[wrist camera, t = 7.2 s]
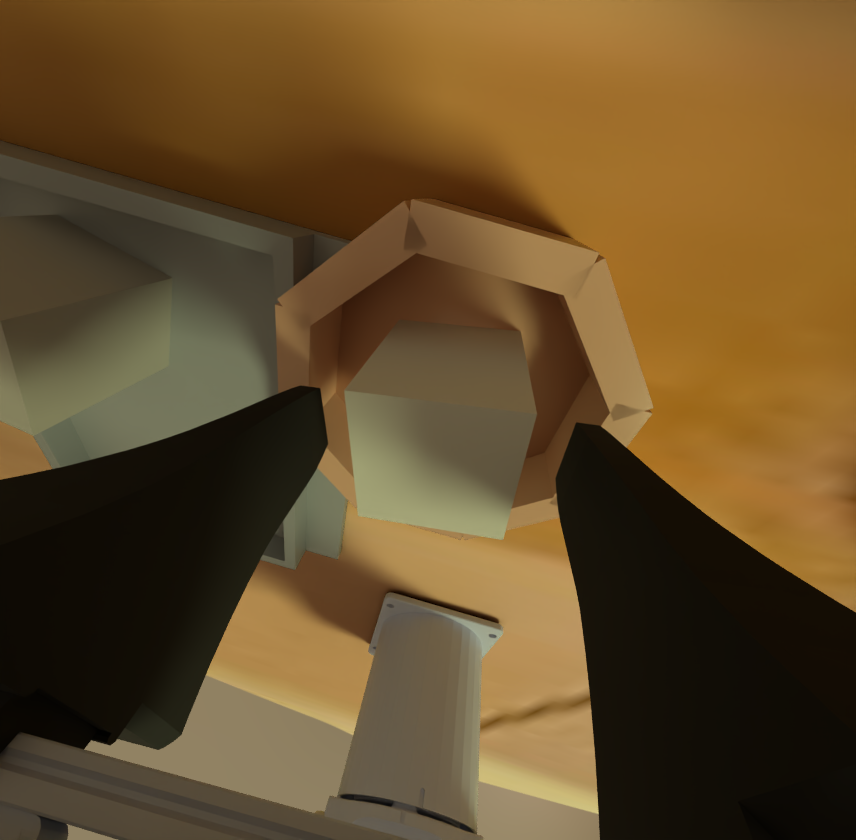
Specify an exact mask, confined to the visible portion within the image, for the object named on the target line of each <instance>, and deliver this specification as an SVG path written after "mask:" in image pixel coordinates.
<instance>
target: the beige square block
mask: <svg viewBox="0 0 856 840" xmlns="http://www.w3.org/2000/svg"><path fill="white" fill-rule="evenodd" d="M171 300H172V277H170V276H168V275H166V274H164V273H162V272H161V271H159V270H157V269H155V268H153V267H151V266H150V265H148V264H146V263H144V262H142V261H140V260H139V259H137V258H135V257H133V256H131V255H129V254H128V253H126V252H124V251H122V250H120V249H118V248H117V247H115V246H113V245H111V244H109V243H107V242H106V241H104V240H102V239H100V238H98V237H96V236H95V235H93V234H91V233H89V232H87V231H85V230H84V229H82V228H80V227H78V226H76V225H74V224H73V223H71V222H69V221H67V220H65V219H63V218H62V217H60V216H58V215H32V216H6V217H0V421H2V422H4V423H6V424H8V425H10V426H13V427H15V428H17V429H19V430H22V431H24V432H26V433H28V434H31V435H33V436H34V435H36V434H38V433H40V432H42V431H44V430H46V429H48V428H50V427H52V426H54V425H56V424H58V423H59V422H61V421H63V420H65V419H67V418H69V417H71V416H73V415H75V414H77V413H79V412H81V411H83V410H85V409H87V408H88V407H90V406H92V405H94V404H96V403H98V402H100V401H102V400H104V399H106V398H108V397H110V396H112V395H114V394H116V393H117V392H119V391H121V390H123V389H125V388H127V387H129V386H131V385H133V384H135V383H137V382H139V381H141V380H143V379H145V378H146V377H148V376H150V375H152V374H154V373H156V372H158V371H160V370H162V369H164V368H166V367H168V366H169V346H170V323H171Z"/></svg>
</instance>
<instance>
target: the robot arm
mask: <svg viewBox="0 0 856 840" xmlns="http://www.w3.org/2000/svg"><path fill="white" fill-rule="evenodd" d="M327 446H328V438H327V431H326V424H325V417H324V410H323V403H322V396H321V389H320V388H316V387H309V386H301V385H300V386H297V387H294V388H291V389H288V390H286V391H283V392H281V393H278V394H276V395H273V396H271V397H269V398H266V399H264V400H262V401H259V402H257V403H255V404H252V405H250V406H248V407H245V408H243V409H241V410H238V411H236V412H234V413H231V414H229V415H226V416H224V417H221V418H219V419H216V420H214V421H211V422H208V423H206V424H203V425H201V426H198V427H196V428H193V429H191V430H188V431H185V432H182V433H180V434H177V435H174V436H171V437H168V438H165V439H162V440H159V441H156V442H152V443H149V444H146V445H143V446H140V447H136V448H133V449H130V450H126V451H122V452H118V453H115V454H111V455H107V456H103V457H99V458H95V459H92V460H88V461H84V462H80V463H76V464H72V465H68V466H64V467H60V468H55V469H51V470H46V471H41V472H37V473H32V474H28V475H23V476H18V477H13V478H8V479H3V480H0V840H67V837H68V826H67V824H69V825H72V826H75V827H79V828H82V829H85V830H88V831H92V832H95V833H98V834H101V835H105V836H108V837H112V838H115V839H118V840H483V837H482V836H481V835H477V810H478V777H479V741H480V705H481V670H482V658H483V657H484V656H485V655H486V653H487V652H488V651H489V650H490V649H491V647H492V646H493V645H494V644H495V643H496V641H497V640H498V639H499V638H500V637H501V636H502V634H503V627H502V626H501V625H500V624H498V623H495V622H491V621H488V620H485V619H481V618H478V617H474V616H471V615H468V614H464V613H461V612H457V611H454V610H450V609H447V608H444V607H440V606H437V605H433V604H430V603H427V602H423V601H420V600H416V599H413V598H410V597H406V596H403V595H399V594H396V593H392V592H391V593H387V594H386V595H385V598H384V602H383V605H382V608H381V611H380V614H379V618H378V621H377V624H376V627H375V630H374V634H373V637H372V640H371V643H370V646H369V650H368V652H369V653H370V654H371V655H374V658H373V662H372V666H371V670H370V674H369V677H368V681H367V685H366V689H365V693H364V696H363V700H362V704H361V708H360V712H359V715H358V719H357V723H356V727H355V731H354V735H353V739H352V742H351V746H350V750H349V754H348V758H347V761H346V765H345V769H344V773H343V777H342V780H341V784H340V788H339V792H338V796H337V797H334V796H330V797H329V799H328V803H327V806H326V810H325V812H323V811H316V812H315V813H312V812H308V811H304V810H301V809H297V808H294V807H290V806H286V805H283V804H279V803H275V802H272V801H268V800H265V799H261V798H257V797H254V796H250V795H246V794H243V793H239V792H236V791H232V790H228V789H224V788H221V787H217V786H214V785H210V784H206V783H203V782H199V781H196V780H192V779H188V778H185V777H181V776H178V775H174V774H170V773H167V772H163V771H160V770H156V769H152V768H149V767H145V766H141V765H138V764H134V763H130V762H127V761H123V760H120V759H116V758H113V757H109V756H105V755H102V754H98V753H94V752H91V751H87V750H84V749H85V747H86V746H87V745H88V743H89V742H90V741H91V740H93V741H96V742H100V743H104V744H107V745H111V744H113V743H114V742H115V741H116V740H117V739H120V740H124V741H127V742H131V743H135V744H138V745H143V746H146V747H150V748H153V749H157V750H159V749H161V748H164V747H165V746H167V745H169V744H170V743H171V742H173V741H174V740H176V739H177V738H178V737H179V736H180V735H181V734H182V732H183V729H184V727H185V724H186V721H187V719H188V716H189V714H190V712H191V709H192V707H193V704H194V702H195V699H196V697H197V695H198V692H199V689H200V687H201V685H202V682H203V680H204V678H205V675H206V673H207V670H208V668H209V666H210V663H211V661H212V659H213V657H214V654H215V652H216V650H217V648H218V646H219V643H220V641H221V639H222V637H223V634H224V632H225V630H226V628H227V626H228V623H229V621H230V619H231V617H232V615H233V613H234V611H235V609H236V607H237V605H238V602H239V600H240V598H241V596H242V594H243V592H244V590H245V588H246V586H247V584H248V582H249V580H250V578H251V576H252V574H253V572H254V570H255V569H256V567H257V565H258V563H259V561H260V559H261V557H262V555H263V553H264V551H265V549H266V548H267V546H268V544H269V543H270V541H271V539H272V538H273V536H274V534H275V533H276V531H277V530H278V528H279V527H280V525H281V524H282V522H283V521H284V519H285V518H286V516H287V515H288V513H289V511H290V510H291V508H292V507H293V505H294V504H295V502H296V501H297V499H298V498H299V496H300V495H301V493H302V492H303V490H304V489H305V487H306V486H307V484H308V482H309V481H310V479H311V478H312V476H313V475H314V473H315V471H316V469H317V467H318V465H319V463H320V461H321V459H322V457H323V455H324V452H325V450H326V448H327ZM555 481H556V495H557V505H558V513H559V517H560V522H561V526H562V531H563V535H564V539H565V544H566V548H567V552H568V556H569V561H570V565H571V569H572V573H573V578H574V582H575V586H576V591H577V596H578V601H579V606H580V613H581V621H582V628H583V636H584V644H585V652H586V661H587V671H588V680H589V689H590V699H591V711H592V723H593V734H594V746H595V759H596V776H597V792H598V809H599V828H600V840H856V612H854V611H852V610H851V609H849V608H847V607H845V606H844V605H842V604H840V603H839V602H837V601H835V600H834V599H832V598H830V597H829V596H827V595H826V594H824V593H822V592H821V591H819V590H818V589H816V588H814V587H813V586H811V585H809V584H808V583H806V582H805V581H803V580H801V579H800V578H798V577H797V576H795V575H793V574H792V573H790V572H789V571H787V570H785V569H784V568H782V567H781V566H779V565H778V564H776V563H775V562H773V561H772V560H770V559H769V558H767V557H765V556H764V555H762V554H761V553H759V552H758V551H757V550H755V549H754V548H752V547H751V546H749V545H748V544H747V543H745V542H744V541H742V540H741V539H739V538H738V537H737V536H735V535H734V534H732V533H731V532H729V531H728V530H726V529H725V528H724V527H722V526H721V525H720V524H718V523H717V522H715V521H714V520H713V519H711V518H710V517H709V516H707V515H706V514H705V513H703V512H702V511H701V510H700V509H698V508H697V507H696V506H695V505H693V504H692V503H691V502H690V501H688V500H687V499H686V498H684V497H683V496H682V495H681V494H679V493H678V492H677V491H676V490H675V489H673V488H672V487H671V486H670V485H669V484H667V483H666V482H665V481H664V480H663V479H661V478H660V477H659V476H658V475H657V474H656V473H654V472H653V471H652V470H651V469H650V468H649V467H648V466H646V465H645V464H644V463H643V462H642V461H641V460H640V459H638V458H637V457H636V456H635V455H634V454H633V453H632V452H631V451H630V450H628V449H627V448H626V447H625V446H624V445H623V444H622V443H621V442H619V441H618V440H617V439H616V438H615V437H614V436H613V435H611V434H610V433H609V432H608V431H606V430H605V429H604V428H603V427H601V426H600V425H593V424H585V423H578V422H576V424H575V427H574V429H573V432H572V435H571V437H570V440H569V443H568V445H567V448H566V451H565V453H564V456H563V459H562V461H561V464H560V467H559V470H558V472H557V475H556V478H555Z"/></svg>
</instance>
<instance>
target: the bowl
mask: <svg viewBox="0 0 856 840" xmlns="http://www.w3.org/2000/svg"><path fill="white" fill-rule="evenodd" d="M277 300H278V301H279V303H277V304H275V318H276V344H277V370H278V393H281V392H283V391H286V390H288V389H291V388H294V387H297V386H300V385H301V386H309V387H316V388H320V389H321V396H322V403H323V410H324V417H325V424H326V431H327V438H328V446H327V448H326V450H325V452H324V455H323V457H322V459H321V461H320V463H319V465H318V467H317V468H318V469H319V470H320V471H321V472H322V473H323V474H324V475H325V476H326V477H327V478H328V480H329V481H330V482H331V483H332V484H333V485H334V486H335V487H336V488H337V489H338V490H339V491H340V492H341V493H342V495H343V496H344V497H345V498H346V499H347V500H348V501H349V502H350V503H351V504H352V505H353V506H354V507H355V508H357V501H356V492H355V483H354V474H353V465H352V456H351V447H350V439H349V430H348V421H347V412H346V403H345V394H344V390H345V389H346V387H347V386H348V385H349V383H350V382H351V381H352V380H353V378H354V377H355V376H356V374H357V373H358V372H359V371H360V369H361V368H362V367H363V366H364V364H365V363H366V362H367V360H368V359H369V358H370V357H371V355H372V354H373V353H374V351H375V350H376V349H377V348H378V346H379V345H380V344H381V342H382V341H383V340H384V339H385V337H386V336H387V335H388V333H389V332H390V331H391V330H392V328H393V327H394V326H395V325H396V323H397V322H398V321H399V320H409V321H419V322H430V323H440V324H451V325H461V326H472V327H482V328H493V329H503V330H514V331H521V335H522V340H523V345H524V350H525V355H526V360H527V365H528V371H529V376H530V381H531V386H532V391H533V396H534V401H535V406H536V411H537V416H536V420H535V423H534V427H533V431H532V434H531V438H530V442H529V446H528V449H527V453H526V457H525V460H524V464H523V468H522V471H521V475H520V479H519V482H518V486H517V490H516V494H515V497H514V501H513V505H512V508H511V512H510V516H509V519H508V523H507V527H506V530H510V529H514V528H518V527H522V526H527V525H531V524H535V523H539V522H543V521H547V520H551V519H556V518H560V517H559V513H558V505H557V495H556V481H555V478H556V475H557V472H558V470H559V467H560V464H561V461H562V459H563V456H564V453H565V451H566V448H567V445H568V443H569V440H570V437H571V435H572V432H573V429H574V427H575V424H576V422H578V423H585V424H593V425H600V426H601V427H603V428H604V429H605V430H606V431H608V432H609V433H610V434H611V435H613V436H614V437H615V438H616V439H617V440H618V441H619V442H621V443H622V444H623V445H624V446H625V447H627V446H628V445H629V443H630V442H631V441H632V439H633V438H634V437H635V435H636V434H637V433H638V432H639V430H640V429H641V428H642V426H643V425H644V424H645V422H646V421H647V420H648V418H649V417H650V416H651V415H652V412H651V411H650V410H649V409H652V408H653V405H652V402H651V398H650V395H649V392H648V389H647V386H646V383H645V380H644V377H643V374H642V371H641V368H640V364H639V361H638V358H637V355H636V352H635V349H634V346H633V343H632V340H631V337H630V333H629V330H628V327H627V324H626V321H625V318H624V315H623V312H622V309H621V306H620V303H619V299H618V296H617V293H616V290H615V287H614V284H613V281H612V278H611V275H610V272H609V268H608V265H607V262H606V259H605V258H604V257H602V256H600V255H599V252H597V251H595V250H593V249H592V248H590V247H588V246H586V245H584V244H582V243H580V242H578V241H576V240H574V239H572V238H569V237H565V236H562V235H558V234H555V233H551V232H548V231H544V230H541V229H537V228H534V227H530V226H527V225H524V224H520V223H517V222H513V221H510V220H506V219H503V218H499V217H496V216H492V215H489V214H485V213H482V212H478V211H475V210H471V209H468V208H464V207H461V206H457V205H454V204H450V203H447V202H443V201H440V200H436V199H412V200H406V201H403V202H401V203H400V204H399V205H397V206H396V207H395V208H394V209H392V210H391V211H390V212H388V213H387V214H386V215H385V216H383V217H382V218H381V219H379V220H378V221H377V222H376V223H374V224H373V225H372V226H371V227H369V228H368V229H367V230H365V231H364V232H363V233H362V234H360V235H359V236H358V237H356V238H355V239H354V240H353V241H351V242H350V243H349V244H347V245H346V246H345V247H344V248H342V249H341V250H340V251H338V252H337V253H336V254H335V255H333V256H332V257H331V258H329V259H328V260H327V261H326V262H324V263H323V264H322V265H320V266H319V267H318V268H317V269H315V270H314V271H313V272H311V273H310V274H309V275H308V276H306V277H305V278H304V279H303V280H301V281H300V282H299V283H297V284H296V285H295V286H294V287H292V288H291V289H290V290H288V291H287V292H286V293H285V294H283V295H282V296H281V297H279V298H278V299H277ZM407 525H410V524H407ZM411 526H414V527H417V528H421V529H424V530H428V531H431V532H434V533H438V534H441V535H445V536H448V537H452V538H455V539H458V540H461V538H462V537H463V538H464V540H468V539H472V538H477V537H481V536H476V535H470V534H464V533H458V532H452V531H446V530H440V529H434V528H428V527H422V526H416V525H411ZM506 530H505V531H506Z"/></svg>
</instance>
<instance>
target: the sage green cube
mask: <svg viewBox="0 0 856 840" xmlns="http://www.w3.org/2000/svg"><path fill="white" fill-rule="evenodd" d="M344 394H345V403H346V412H347V421H348V430H349V439H350V447H351V456H352V465H353V474H354V483H355V492H356V501H357V510H358V516H362V517H368V518H374V519H380V520H386V521H392V522H398V523H404V524H410V525H416V526H422V527H428V528H434V529H440V530H446V531H452V532H458V533H464V534H470V535H476V536H482V537H488V538H494V539H500V540H503V538H504V534H505V530H506V527H507V523H508V519H509V516H510V512H511V508H512V505H513V501H514V497H515V494H516V490H517V486H518V482H519V479H520V475H521V471H522V468H523V464H524V460H525V457H526V453H527V449H528V446H529V442H530V438H531V434H532V431H533V427H534V423H535V420H536V416H537V411H536V406H535V401H534V396H533V391H532V386H531V381H530V376H529V371H528V365H527V360H526V355H525V350H524V345H523V340H522V335H521V331H514V330H503V329H493V328H482V327H472V326H461V325H451V324H440V323H430V322H419V321H409V320H399V321H398V322H397V323H396V325H395V326H394V327H393V328H392V330H391V331H390V332H389V333H388V335H387V336H386V337H385V339H384V340H383V341H382V342H381V344H380V345H379V346H378V348H377V349H376V350H375V351H374V353H373V354H372V355H371V357H370V358H369V359H368V360H367V362H366V363H365V364H364V366H363V367H362V368H361V369H360V371H359V372H358V373H357V374H356V376H355V377H354V378H353V380H352V381H351V382H350V383H349V385H348V386H347V387H346V389H345V390H344Z"/></svg>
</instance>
